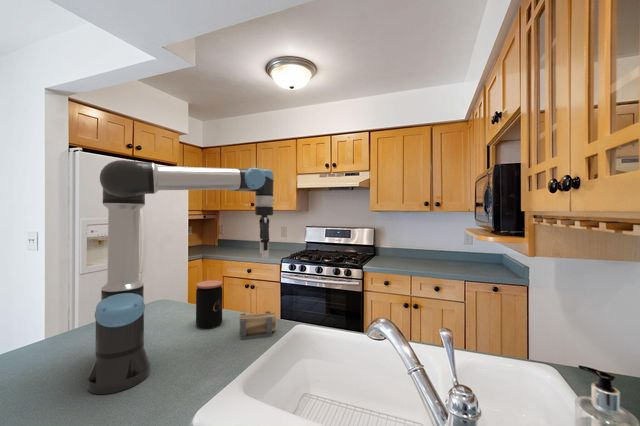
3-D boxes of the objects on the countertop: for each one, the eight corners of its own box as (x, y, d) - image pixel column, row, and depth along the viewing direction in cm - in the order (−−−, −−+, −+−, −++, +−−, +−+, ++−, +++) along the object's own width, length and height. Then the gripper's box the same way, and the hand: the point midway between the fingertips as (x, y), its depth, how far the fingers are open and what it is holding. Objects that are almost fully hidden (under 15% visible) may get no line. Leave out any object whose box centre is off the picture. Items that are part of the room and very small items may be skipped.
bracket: (272, 336, 111) (272, 318, 111) (240, 339, 108) (240, 321, 108) (269, 327, 120) (269, 310, 120) (240, 330, 117) (240, 313, 117)
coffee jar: (216, 330, 117) (217, 286, 117) (191, 329, 117) (191, 286, 117) (225, 320, 127) (226, 280, 127) (202, 319, 128) (202, 280, 128)
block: (275, 330, 114) (275, 315, 114) (239, 334, 110) (239, 319, 110) (274, 326, 118) (274, 312, 118) (239, 330, 114) (239, 315, 114)
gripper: (276, 205, 109) (276, 260, 110) (270, 206, 133) (270, 251, 134) (256, 205, 107) (256, 261, 108) (254, 206, 131) (253, 251, 132)
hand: (264, 255), depth 121 cm, fingers open, 13 cm apart
